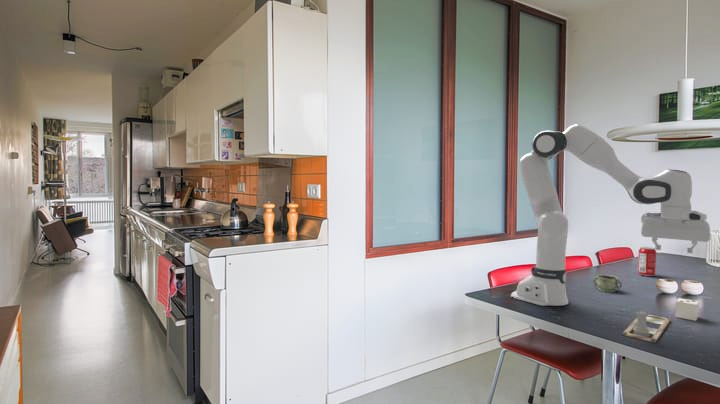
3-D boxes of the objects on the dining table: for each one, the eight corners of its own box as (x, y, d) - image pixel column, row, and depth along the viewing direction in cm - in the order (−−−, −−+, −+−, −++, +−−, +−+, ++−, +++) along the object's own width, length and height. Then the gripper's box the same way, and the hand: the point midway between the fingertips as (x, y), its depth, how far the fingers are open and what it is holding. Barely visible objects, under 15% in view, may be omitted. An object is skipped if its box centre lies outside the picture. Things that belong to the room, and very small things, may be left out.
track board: (622, 335, 136) (622, 332, 136) (641, 315, 156) (641, 313, 155) (655, 342, 129) (655, 340, 129) (670, 321, 149) (670, 318, 149)
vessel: (589, 289, 193) (590, 275, 193) (595, 285, 199) (596, 272, 199) (618, 294, 185) (619, 280, 184) (624, 290, 191) (624, 277, 190)
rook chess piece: (643, 332, 138) (643, 309, 138) (652, 337, 133) (653, 313, 133) (630, 332, 138) (630, 309, 137) (639, 338, 133) (640, 313, 133)
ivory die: (675, 316, 154) (676, 300, 153) (678, 313, 158) (678, 297, 158) (696, 320, 150) (696, 304, 149) (698, 317, 154) (698, 301, 153)
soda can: (637, 275, 220) (638, 247, 219) (637, 272, 226) (639, 246, 226) (655, 277, 215) (656, 249, 215) (655, 274, 222) (656, 247, 221)
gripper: (639, 212, 155) (638, 248, 156) (710, 216, 141) (708, 256, 142) (643, 211, 160) (641, 247, 161) (712, 215, 145) (710, 253, 146)
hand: (673, 251), depth 151 cm, fingers open, 8 cm apart
